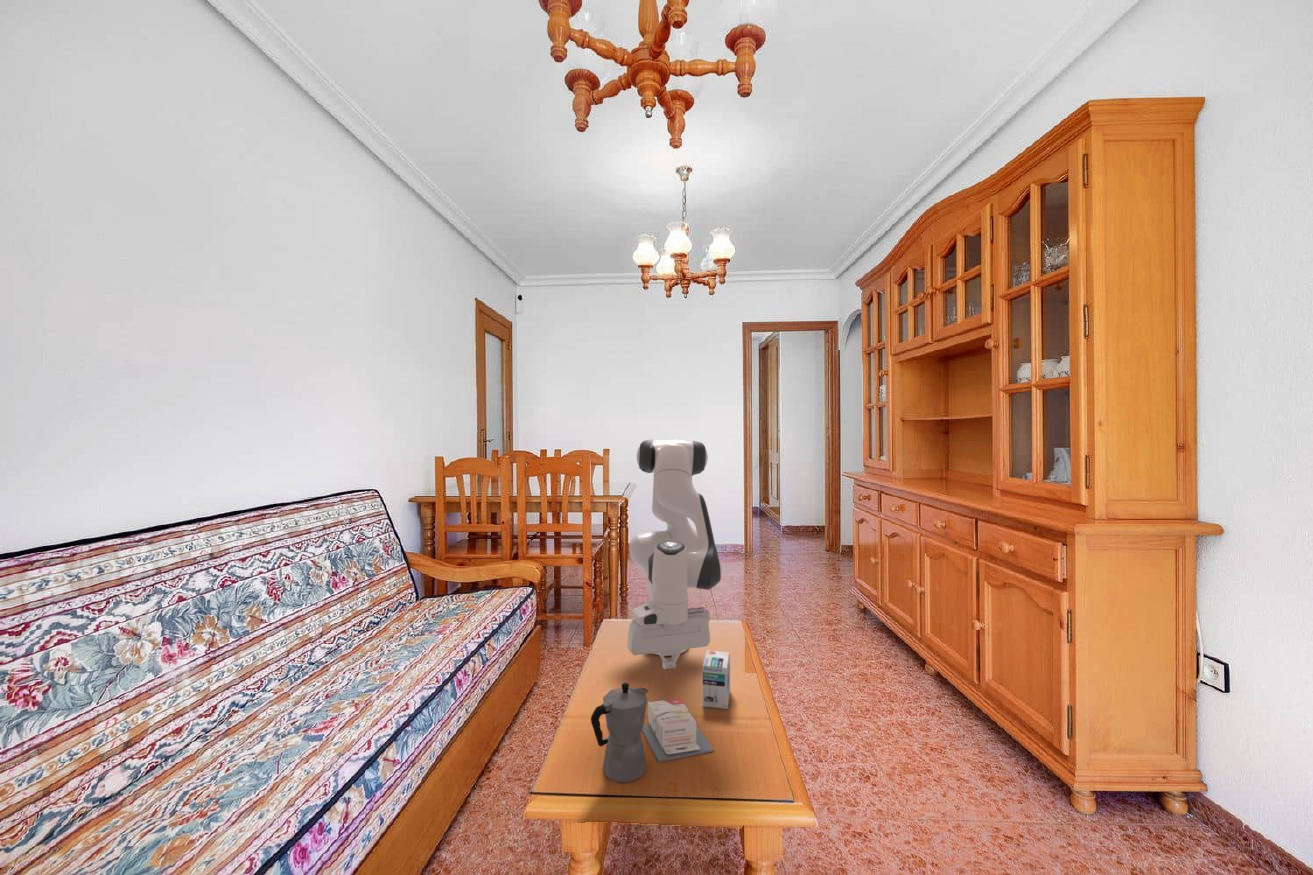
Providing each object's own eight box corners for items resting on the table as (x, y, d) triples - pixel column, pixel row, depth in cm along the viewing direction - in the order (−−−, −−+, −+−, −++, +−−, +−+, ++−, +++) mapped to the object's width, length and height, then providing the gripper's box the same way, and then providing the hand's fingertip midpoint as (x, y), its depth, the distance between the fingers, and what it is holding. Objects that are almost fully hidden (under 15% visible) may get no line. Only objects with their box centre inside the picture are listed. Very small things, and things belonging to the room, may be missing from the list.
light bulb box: (727, 710, 133) (728, 668, 133) (701, 707, 134) (702, 665, 134) (730, 690, 143) (730, 651, 143) (706, 687, 144) (706, 649, 144)
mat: (640, 727, 124) (640, 725, 124) (690, 718, 128) (690, 717, 128) (658, 762, 111) (658, 760, 111) (713, 751, 115) (713, 749, 115)
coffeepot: (633, 746, 116) (633, 666, 117) (662, 765, 110) (663, 680, 110) (577, 777, 106) (577, 689, 106) (605, 800, 99) (606, 706, 99)
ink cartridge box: (680, 696, 129) (702, 728, 114) (680, 716, 128) (702, 750, 114) (647, 701, 126) (666, 734, 112) (647, 721, 126) (665, 757, 112)
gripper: (704, 602, 130) (703, 656, 130) (626, 609, 124) (625, 666, 124) (714, 610, 124) (713, 667, 124) (632, 619, 118) (632, 679, 118)
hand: (669, 667), depth 124 cm, fingers closed
